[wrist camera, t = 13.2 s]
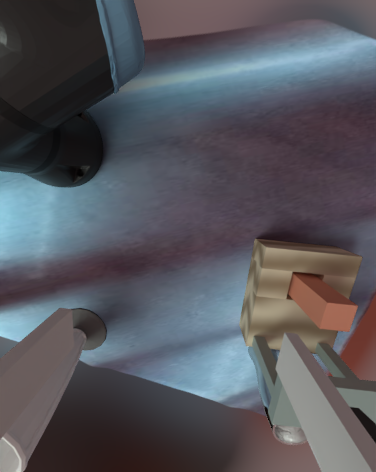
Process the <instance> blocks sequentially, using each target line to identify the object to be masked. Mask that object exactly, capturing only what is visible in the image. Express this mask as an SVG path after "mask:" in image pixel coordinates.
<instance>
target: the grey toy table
mask: <svg viewBox="0 0 376 472" xmlns="http://www.w3.org/2000/svg"><path fill="white" fill-rule="evenodd" d="M252 346H253V349H254V351H255V354H256V357H257V359H258V362H259V365H260V368H261V370H262V373H263V376H264V379H265V381H266V384H267V387H268V389H269V392H270V395H271V401H270V405H269V409H268V414H269V417H270V420H271V423H272V424H274V425H282V426H291V427H299V428H302V427H301V425H300V422H299V420H298V418H297V416H296V413H295V411H294V409H293V407H292V405H291V402H290V400H289V398H288V396H287V393H286V391H285V389H284V387H283V385H282V382H281V380H280V378H279V376H278V373H277V371H276V369H275V368H276V365H277V363H276V360H275V358H274V356H273V354H272V352H271V350H270V348H269V346H268V343H267V341H266V339H265V337H261V336H254V337H253V342H252ZM315 352H316V354H317V355H318V356H319V358H320V359H321V360H322V362H323V363H324V364H325V366H326V367H327V368H328V370H329V371H330V372H331V374H332V375H333V376H334V377H332V376H328V377H329V379H330V380H331V382H332V383H333V384H334V386H335V387H336V389H337V390H338V391H339V393H340V394H341V396H342V397H343V398H344V400H345V401H346V403H347V404H348V405H349V407H354V408H359V409H360V410H362V411H363V412H364V413H365V414H366V415H367V416H368V417H369V418H370V419H371V420H372V421H373V422H374V423H375V424H376V381H366V380H359V379H358V378H357V376H356V375H355V374H354V373H353V372H352V371H351V369H349V367H348V366H347V365H346V364H345V363H344V361H343V360H342V359H341V358H340V357H339V356H338V355H337V353H336V352H335V351H334V350H333V349H332V348H331V346H330V345H329V344H325V343H317V346H316V349H315Z"/></svg>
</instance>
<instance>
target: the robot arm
mask: <svg viewBox="0 0 376 472" xmlns="http://www.w3.org/2000/svg"><path fill="white" fill-rule="evenodd" d="M144 61H145V48H144V41H143V36H142V32H141V27H140V23H139V19H138V15H137V11H136V7H135V4H134V0H0V171H4V172H14V173H23V174H25V175H28V176H30V177H32V178H34V179H36V180H38V181H40V182H42V183H45V184H47V185H51V186H55V187H76V186H80V185H82V184H84V183H86V182H87V181H89V180H90V179H91V178H92V177H93V176H94V175H95V174H96V172H97V170H98V168H99V166H100V164H101V160H102V154H103V145H102V138H101V135H100V132H99V129H98V127H97V125H96V123H95V121H94V120H93V118H92V117H91V116H90V115H89V114H88V112H87V111H85V110H86V109H88V108H90V107H91V106H93V105H94V104H96V103H98V102H99V101H101V100H102V99H104V98H106V97H107V96H109V95H110V94H112V93H114V94H116V93H117V92H118V91H119V88H120V87H121V86H123V85H124V84H125V83H127V82H128V81H130V80H131V79H132V78H134V77H135V76H136V75H138V74H139V73H140V72H141V70H142V68H143V65H144ZM73 347H74V335H73V319H72V309H65V308H59V309H58V310H57V311H56V312H54V313H53V314H52V315H51V316H50V317H49V318H47V319H46V320H45V321H44V322H43V323H42V324H40V325H39V326H38V327H37V328H36V329H35V330H33V331H32V332H31V333H30V334H29V335H28V336H26V337H25V338H24V339H23V340H22V341H20V342H19V343H18V344H17V345H16V346H15V347H13V348H12V349H11V350H10V351H9V352H8V353H6V354H5V355H4V356H3V357H2V358H1V359H0V440H1V438H2V437H3V436H4V435H5V433H6V432H7V431H8V429H9V428H10V427H11V426H12V424H13V423H14V422H15V421H16V419H17V418H18V417H19V415H20V414H21V413H22V412H23V410H24V409H25V408H26V407H27V405H28V404H29V403H30V402H31V400H32V399H33V398H34V396H35V395H36V394H37V393H38V391H39V390H40V389H41V388H42V386H43V385H44V384H45V383H46V381H47V380H48V379H49V377H50V376H51V375H52V374H53V372H54V371H55V370H56V369H57V367H58V366H59V365H60V364H61V362H62V361H63V360H64V358H65V357H66V356H67V355H68V353H69V352H70V351H71V350H72V348H73ZM275 369H276V371H277V373H278V376H279V378H280V380H281V382H282V385H283V387H284V389H285V391H286V393H287V396H288V398H289V400H290V402H291V405H292V407H293V409H294V411H295V413H296V416H297V418H298V420H299V422H300V425H301V427H302V429H303V431H304V434H305V436H306V438H307V440H308V442H309V445H310V447H311V449H312V451H313V453H314V456H315V458H316V460H317V462H318V465H319V467H320V469H321V471H322V472H376V424H375V423H374V422H373V421H372V420H371V419H370V418H369V417H368V416H367V415H366V414H365V413H364V412H363V411H362V410H360V409H359V408H354V407H349V405H348V404H347V403H346V401H345V400H344V398H343V397H342V396H341V394H340V393H339V391H338V390H337V389H336V387H335V386H334V384H333V383H332V382H331V380H330V379H329V377H328V376H327V375H326V373H325V372H324V370H323V369H322V368H321V366H320V365H319V363H318V362H317V361H316V359H315V358H314V356H313V355H312V354H311V352H310V351H309V349H308V348H307V347H306V345H305V344H304V342H303V341H302V340H301V338H300V337H299V335H298V334H295V333H286V332H285V333H284V337H283V341H282V345H281V349H280V353H279V357H278V361H277V365H276V368H275Z"/></svg>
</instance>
